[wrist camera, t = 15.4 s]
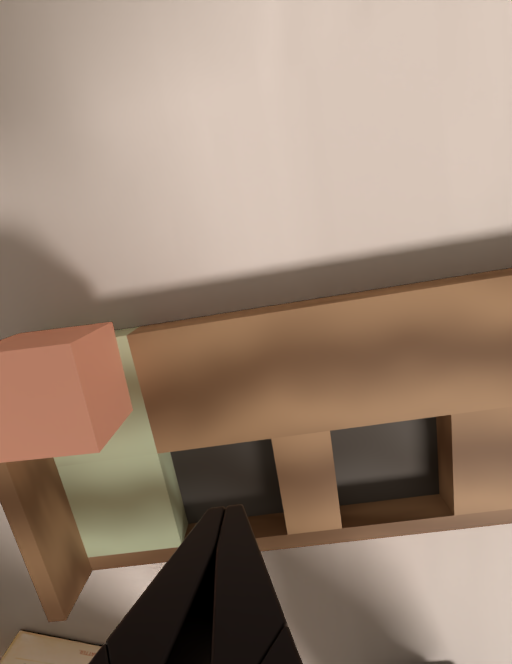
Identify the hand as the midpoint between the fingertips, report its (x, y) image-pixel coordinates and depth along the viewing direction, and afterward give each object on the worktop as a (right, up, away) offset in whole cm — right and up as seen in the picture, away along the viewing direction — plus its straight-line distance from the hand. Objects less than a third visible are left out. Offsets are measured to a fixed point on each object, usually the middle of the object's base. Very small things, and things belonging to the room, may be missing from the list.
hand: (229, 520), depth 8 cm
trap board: (+4, -1, +13) cm, 13 cm away
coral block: (-9, +2, +10) cm, 14 cm away
